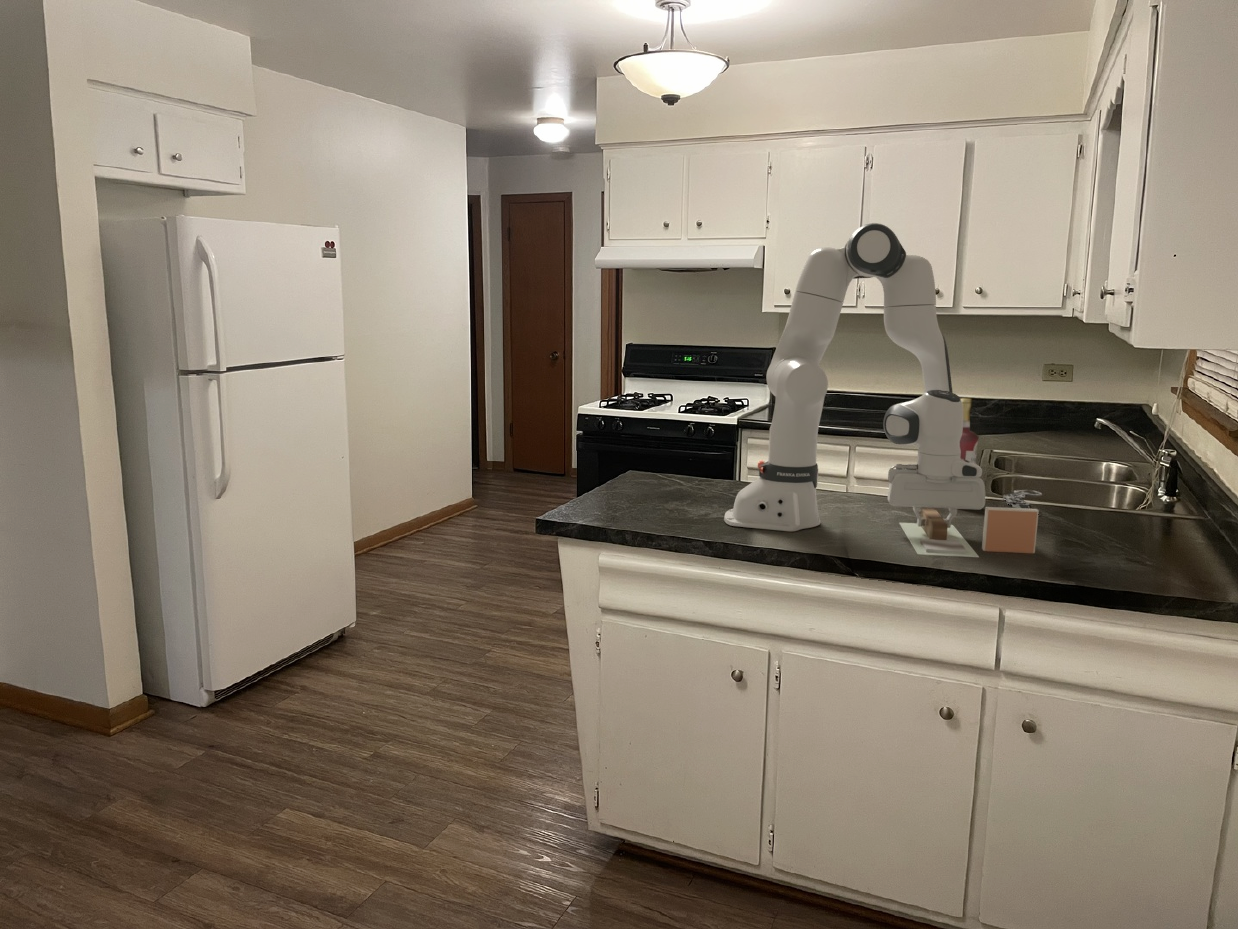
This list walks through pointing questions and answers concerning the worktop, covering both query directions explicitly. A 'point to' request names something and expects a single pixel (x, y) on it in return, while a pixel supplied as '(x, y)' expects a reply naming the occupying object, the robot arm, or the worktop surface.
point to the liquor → (968, 435)
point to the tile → (1010, 529)
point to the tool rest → (918, 533)
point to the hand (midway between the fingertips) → (933, 526)
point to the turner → (938, 534)
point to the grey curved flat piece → (1020, 498)
